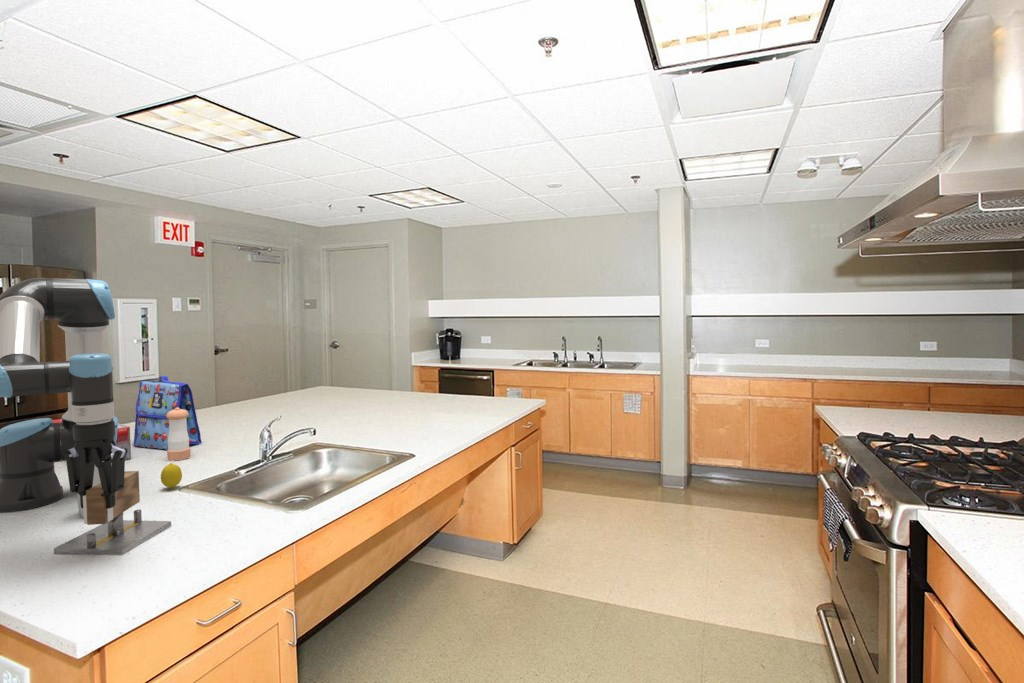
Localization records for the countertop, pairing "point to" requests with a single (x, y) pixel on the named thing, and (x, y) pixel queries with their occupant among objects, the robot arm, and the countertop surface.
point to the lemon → (171, 475)
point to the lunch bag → (162, 412)
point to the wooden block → (123, 499)
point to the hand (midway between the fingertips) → (98, 521)
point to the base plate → (114, 536)
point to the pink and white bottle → (178, 435)
